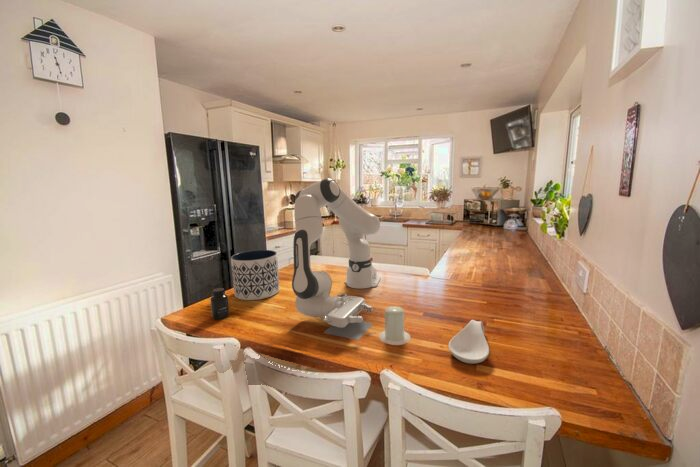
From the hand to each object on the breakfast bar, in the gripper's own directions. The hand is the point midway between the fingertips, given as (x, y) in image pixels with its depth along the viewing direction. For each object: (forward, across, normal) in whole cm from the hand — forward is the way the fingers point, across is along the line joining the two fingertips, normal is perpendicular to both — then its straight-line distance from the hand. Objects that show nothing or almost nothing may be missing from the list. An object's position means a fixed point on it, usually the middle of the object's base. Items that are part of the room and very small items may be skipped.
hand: (367, 314), depth 111 cm
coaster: (+10, 0, +7) cm, 13 cm away
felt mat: (-8, 0, +7) cm, 11 cm away
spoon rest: (+35, +3, +8) cm, 36 cm away
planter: (-69, +18, +8) cm, 71 cm away
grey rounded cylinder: (+10, 0, +7) cm, 12 cm away
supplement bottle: (-64, -10, +7) cm, 65 cm away
